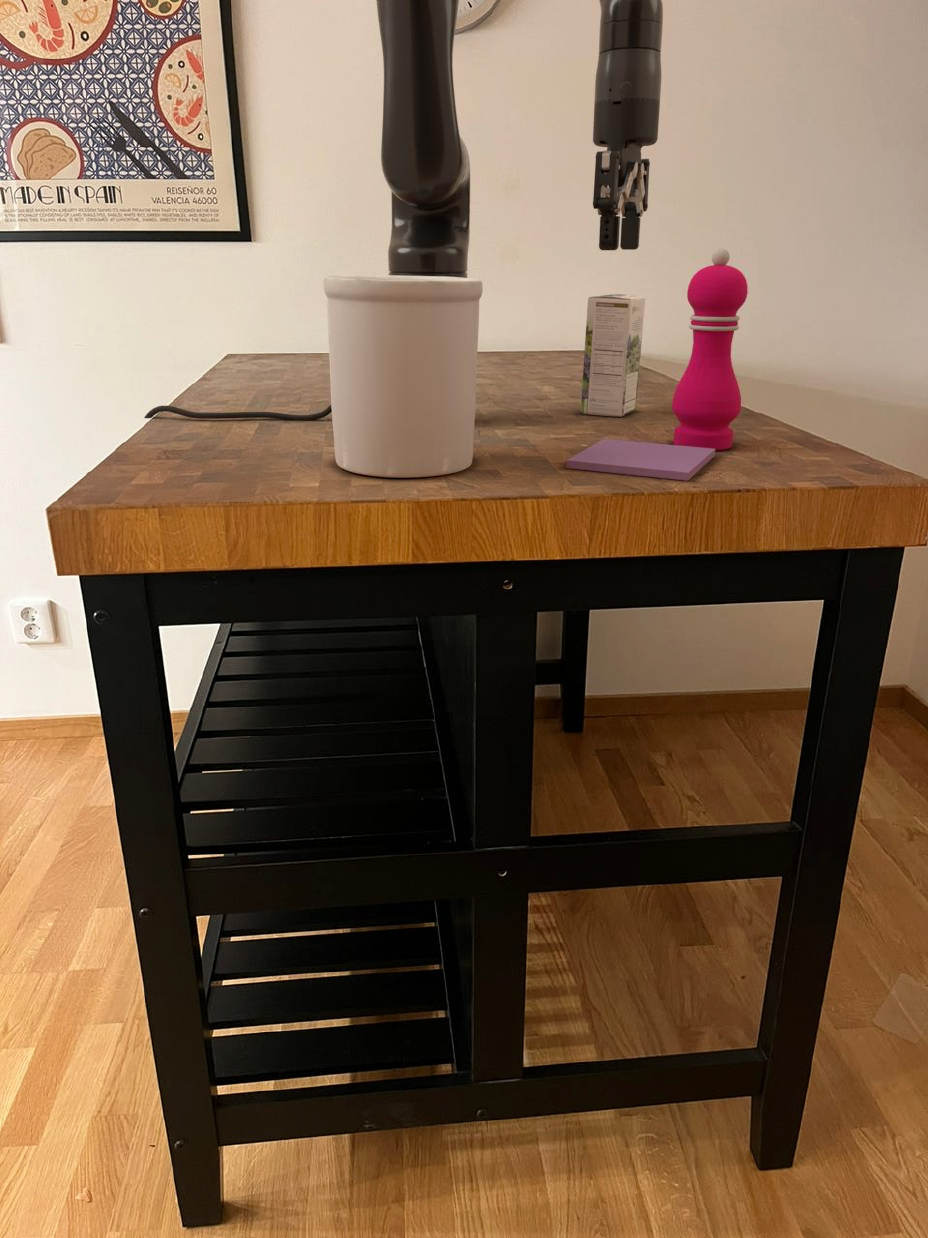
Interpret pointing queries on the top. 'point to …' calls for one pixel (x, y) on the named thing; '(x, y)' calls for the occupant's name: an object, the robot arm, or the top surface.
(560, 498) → the top surface
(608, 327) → the syrup box
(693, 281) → the pepper mill
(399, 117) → the robot arm
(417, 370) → the utensil holder
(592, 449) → the place mat
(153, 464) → the top surface
